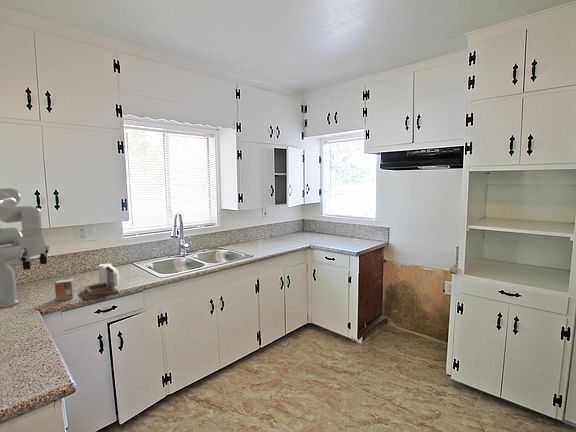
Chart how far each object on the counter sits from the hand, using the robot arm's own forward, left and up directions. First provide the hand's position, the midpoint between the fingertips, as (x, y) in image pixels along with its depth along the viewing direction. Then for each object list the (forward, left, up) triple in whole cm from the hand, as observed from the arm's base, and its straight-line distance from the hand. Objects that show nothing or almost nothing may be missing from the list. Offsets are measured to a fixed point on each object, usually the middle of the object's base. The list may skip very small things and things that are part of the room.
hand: (35, 266), depth 159 cm
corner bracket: (-30, +39, -25) cm, 56 cm away
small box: (-17, +13, -25) cm, 33 cm away
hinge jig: (-13, +29, -25) cm, 41 cm away
